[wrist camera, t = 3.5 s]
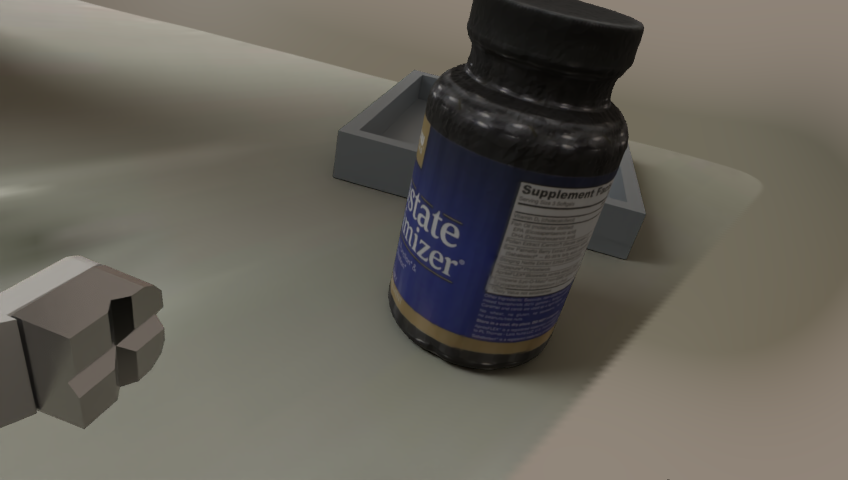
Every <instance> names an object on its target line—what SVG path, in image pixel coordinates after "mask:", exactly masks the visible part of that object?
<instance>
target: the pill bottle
mask: <svg viewBox="0 0 848 480" xmlns="http://www.w3.org/2000/svg"><path fill="white" fill-rule="evenodd" d="M467 30H468V35H469V37H470V40H471V42H472V49H471V53H470V56H469V58H468V62H467V63H466V64H463V65H458V66H457V67H453V68H452V69H449V70H447V71H446V72H444V73H443V74H442V75H441V76H440V77H439V78H438V79H437V80H436V81H435V83H434V84H433V86H432V88H431V89H430V92H429V96H428V99H427V105H426V109H425V115H424V120H423V126H422V129H421V135H420V140H419V145H418V150H417V155H416V160H415V165H414V169H413V174H412V179H411V184H410V187H409V193H408V198H407V204H406V208H405V212H404V218H403V223H402V227H401V232H400V238H399V243H398V248H397V253H396V258H395V263H394V268H393V273H392V278H391V282H390V285H389V294H388V298H389V304H390V309H391V312H392V315H393V317H394V319H395V320H396V322H397V324H398V325H399V327H400V328H401V329H402V331H403V332H404V333H405V334H406V335H407V336H408V337H409V339H411V340H413V342H415V343H416V344H417V345H419V346H421V347H423V348H424V349H426V350H428V351H431V352H432V353H434V354H436V355H438V356H439V357H441V358H442V359H443V360H446V361H449V362H451V363H454V364H457V365H460V366H464V367H471V368H478V369H496V368H501V367H507V368H508V367H513V366H517V365H520V364H522V363H525V362H527V361H529V360H530V359H532V358H534V357H536V356H537V355H538V354H539V353H540V352H541V351H542V350H543V349H544V347H545V346H546V344H547V342H548V341H549V339H550V337H551V336H552V333H553V330H554V327H555V325H556V322H557V320H558V317H559V315H560V313H561V310H562V308H563V305H564V303H565V300H566V298H567V295H568V293H569V290H570V288H571V285H572V283H573V281H574V278H575V275H576V273H577V271H578V269H579V266H580V264H581V261H582V259H583V256H584V254H585V251H586V248H587V246H588V243H589V241H590V238H591V236H592V233H593V231H594V228H595V226H596V223H597V221H598V218H599V216H600V213H601V211H602V209H603V206H604V203H605V201H606V199H607V196H608V194H609V191H610V188H611V186H612V183H613V181H614V178H615V176H616V174H617V171H618V169H619V166H620V163H621V160H622V158H623V155H624V153H625V151H626V149H627V147H628V127H627V124H626V121H625V119H624V116H623V115H622V113H621V111H620V110H619V109H618V108H617V107H616V106H615V105H614V104H613V103H612V102H611V100H610V98H611V93H612V89H613V87H614V85H615V82H616V81H617V79H618V78H620V77H621V76H622V75H623V74H624V73H625V72H626V70H627V69H629V68H630V67H631V66H632V64H633V62H634V59H635V55H636V52H637V49H638V46H639V44H640V41H641V38H642V34H643V31H644V26H643V24H642V23H641V22H639V21H637V20H635V19H634V18H631V17H629V16H626V15H624V14H621V13H618V12H616V11H612V10H609V9H606V8H603V7H599V6H595V5H593V4H589V3H585V2H582V1H579V0H473V4H472V9H471V13H470V18H469V21H468V23H467Z"/></svg>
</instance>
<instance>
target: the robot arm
mask: <svg viewBox="0 0 848 480" xmlns="http://www.w3.org/2000/svg"><path fill="white" fill-rule="evenodd" d="M162 308H163V299H162V290H160V289H159V288H157V287H156V286H154V285H152V284H150V283H147V282H145V281H142V280H140V279H137V278H135V277H133V276H130V275H128V274H125V273H123V272H120V271H118V270H115V269H113V268H111V267H108V266H106V265H102V264H99V263H97V262H94V261H92V260H89V259H87V258H85V257H82V256H80V255H79V256H67V257H65V258H64V259H62V260H60V261H58V262H56V263H54V264H53V265H51V266H49V267H47V268H45V269H43V270H42V271H40V272H38V273H36V274H34V275H32V276H31V277H29V278H27V279H25V280H23V281H21V282H20V283H18V284H16V285H14V286H12V287H10V288H9V289H7V290H5V291H3V292H1V293H0V428H2V427H4V426H7V425H9V424H12V423H14V422H16V421H19V420H21V419H24V418H26V417H29V416H31V415H34V414H36V413H37V410H38V411H40V412H43V413H45V414H48V415H50V416H53V417H55V418H58V419H60V420H63V421H65V422H68V423H70V424H73V425H75V426H78V427H80V428H83V429H85V428H86V427H87V426H89V425H90V424H91V423H92V422H93V421H94V420H95V419H96V418H98V417H99V416H100V415H101V414H102V413H103V412H104V411H105V410H107V409H108V408H109V407H110V406H111V405H112V404H113V403H115V402H116V401H117V400H118V395H119V390H120V387H121V386H124V385H128V384H131V383H134V382H137V381H139V380H140V379H141V378H142V377H144V376H145V375H146V374H147V373H148V372H149V371H150V370H151V369H152V368H153V366H154V364H155V363H156V361H157V359H158V358H159V356H160V355H161V353H162V349H163V345H164V341H165V333H164V327H163V325H162V324H161V322H160V320H159V319H158V317H157V315H156V314H157V313H158V312H159V311H160V310H161V309H162Z"/></svg>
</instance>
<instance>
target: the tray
mask: <svg viewBox="0 0 848 480" xmlns="http://www.w3.org/2000/svg"><path fill="white" fill-rule="evenodd" d="M439 77H440V76H436V75H432V74H428V73H425V72H421V71H417V70H414V71H412V72H411V73H410V74H408V75H407V76H406V77H405V78H403V79H402V80H401V81H400V82H398V83H397V84H396V85H395V86H393V87H392V88H391V89H390V90H388V91H387V92H386V93H385V94H383V95H382V96H381V97H380V98H378V99H377V100H376V101H375V102H373V103H372V104H371V105H370V106H368V107H367V108H366V109H365V110H363V111H362V112H361V113H360V114H358V115H357V116H356V117H355V118H353V119H352V120H351V121H350V122H348V123H347V124H346V125H345V126H343V127H342V128H341V129H340V130H338V138H337V146H336V155H335V163H334V171H333V177H335V178H338V179H342V180H346V181H349V182H353V183H356V184H360V185H363V186H367V187H370V188H374V189H377V190H381V191H385V192H388V193H392V194H395V195H399V196H402V197H406V198H408V193H409V187H410V184H411V179H412V174H413V169H414V165H415V160H416V155H417V150H418V145H419V140H420V135H421V129H422V126H423V120H424V115H425V109H426V105H427V99H428V96H429V92H430V89H431V88H432V86H433V84H434V83H435V81H436V80H437V79H438V78H439ZM645 215H646V212H645V208H644V204H643V200H642V196H641V192H640V188H639V184H638V180H637V176H636V172H635V168H634V165H633V161H632V157H631V153H630V149H629V145H628V147H627V149H626V151H625V153H624V155H623V158H622V160H621V163H620V166H619V169H618V171H617V174H616V176H615V178H614V181H613V183H612V186H611V188H610V191H609V194H608V196H607V199H606V201H605V203H604V206H603V209H602V211H601V213H600V216H599V218H598V221H597V223H596V226H595V228H594V231H593V233H592V236H591V238H590V241H589V243H588V246H587V249H590V250H594V251H598V252H601V253H605V254H608V255H612V256H615V257H619V258H622V259H627V256H628V254H629V252H630V250H631V247H632V245H633V243H634V240H635V238H636V236H637V234H638V231H639V229H640V227H641V224H642V222H643V220H644V218H645Z"/></svg>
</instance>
